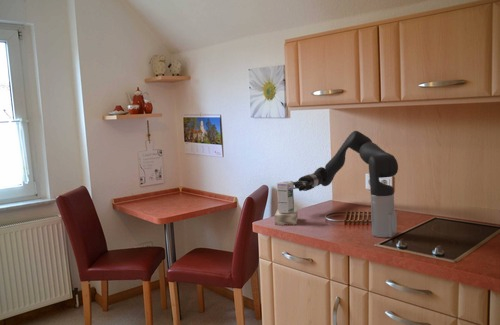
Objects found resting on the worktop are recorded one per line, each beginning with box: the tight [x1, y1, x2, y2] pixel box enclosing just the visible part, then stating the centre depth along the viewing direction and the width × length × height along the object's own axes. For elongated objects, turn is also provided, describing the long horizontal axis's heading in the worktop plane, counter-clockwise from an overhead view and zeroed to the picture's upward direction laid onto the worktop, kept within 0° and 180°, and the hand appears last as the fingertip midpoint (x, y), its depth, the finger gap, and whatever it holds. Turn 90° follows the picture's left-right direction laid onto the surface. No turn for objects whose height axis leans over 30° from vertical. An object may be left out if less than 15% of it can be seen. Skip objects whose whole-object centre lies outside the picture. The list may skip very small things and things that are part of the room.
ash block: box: [274, 209, 299, 226], centre depth 215 cm, size 10×10×5 cm
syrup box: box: [276, 181, 295, 213], centre depth 214 cm, size 6×6×14 cm
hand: (291, 188), depth 218 cm, fingers open, 8 cm apart
